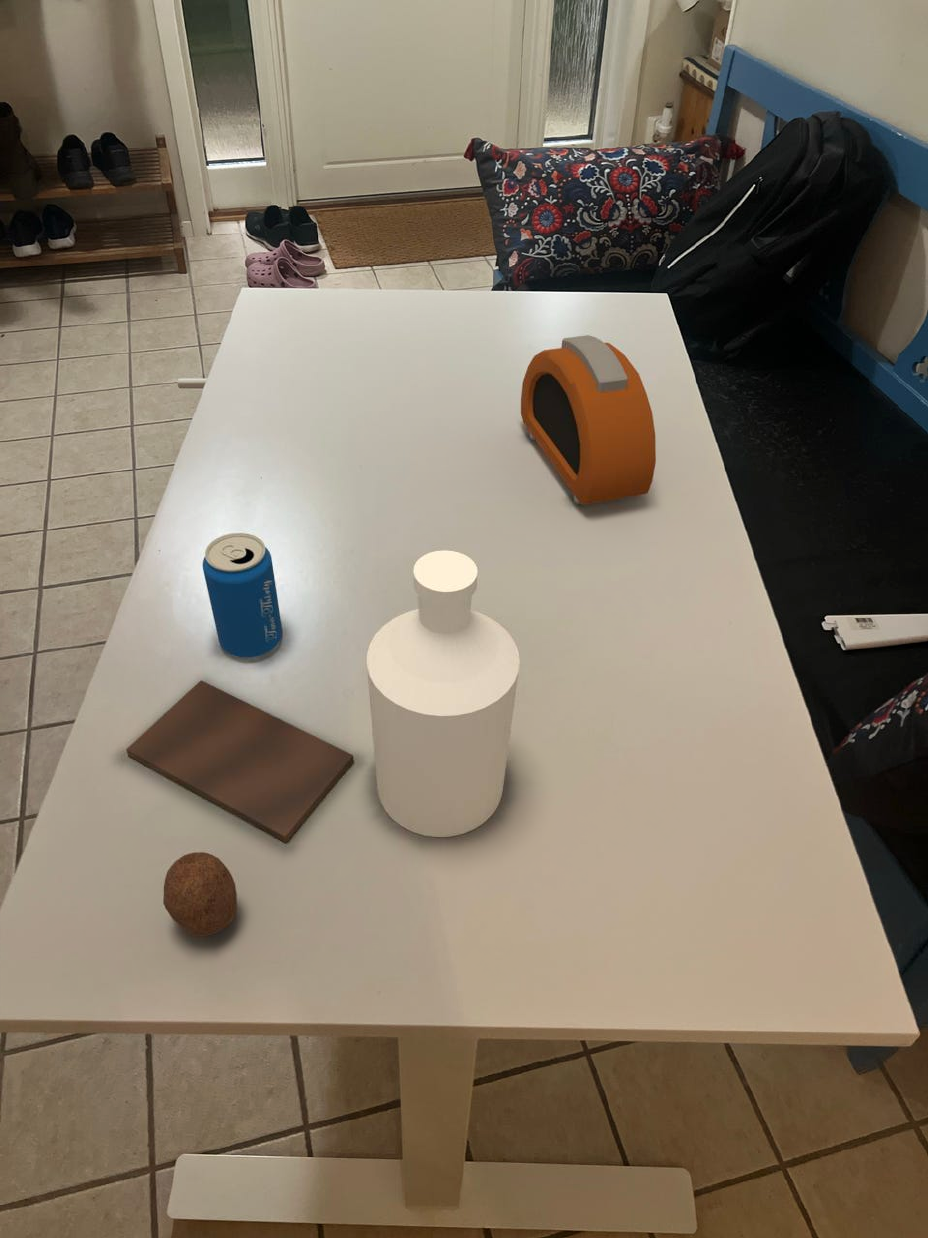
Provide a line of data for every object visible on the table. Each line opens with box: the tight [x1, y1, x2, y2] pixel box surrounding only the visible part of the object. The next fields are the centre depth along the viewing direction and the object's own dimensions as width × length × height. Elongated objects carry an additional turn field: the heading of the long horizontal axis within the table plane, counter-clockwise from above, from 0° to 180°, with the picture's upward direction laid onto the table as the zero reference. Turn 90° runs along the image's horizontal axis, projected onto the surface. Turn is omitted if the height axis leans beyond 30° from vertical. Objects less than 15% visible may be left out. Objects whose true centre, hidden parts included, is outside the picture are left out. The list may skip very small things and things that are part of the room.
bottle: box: [366, 550, 521, 838], centre depth 71 cm, size 12×12×25 cm
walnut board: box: [125, 680, 355, 844], centre depth 81 cm, size 18×10×1 cm, turn 61°
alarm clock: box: [520, 334, 657, 506], centre depth 112 cm, size 23×9×17 cm, turn 18°
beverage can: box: [202, 532, 283, 659], centre depth 88 cm, size 6×6×12 cm
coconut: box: [162, 851, 238, 937], centre depth 67 cm, size 5×5×8 cm
